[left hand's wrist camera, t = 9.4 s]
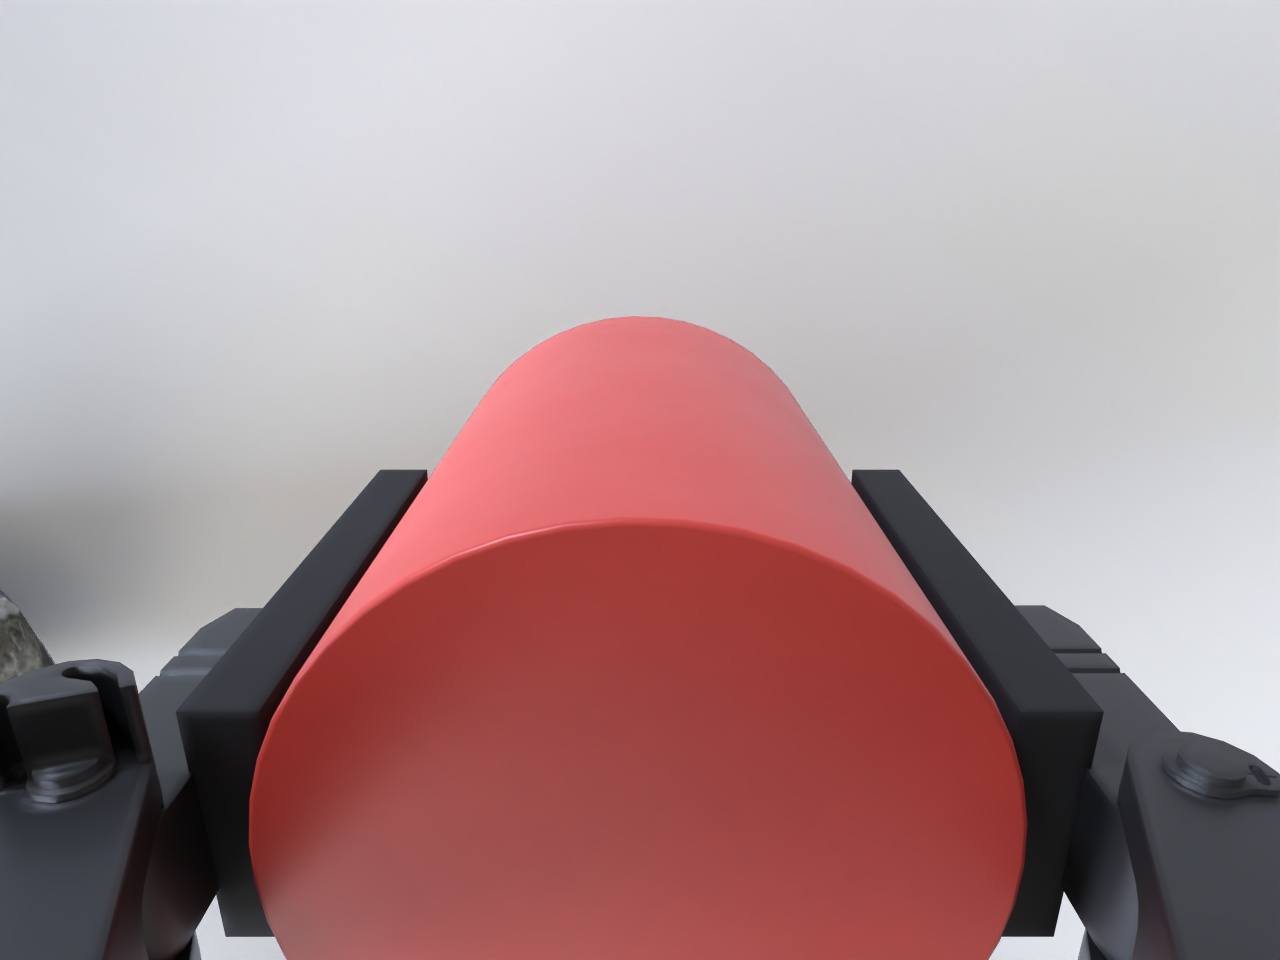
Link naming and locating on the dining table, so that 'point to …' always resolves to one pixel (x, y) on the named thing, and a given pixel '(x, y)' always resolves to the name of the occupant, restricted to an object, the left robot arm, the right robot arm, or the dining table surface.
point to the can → (637, 697)
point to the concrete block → (18, 643)
